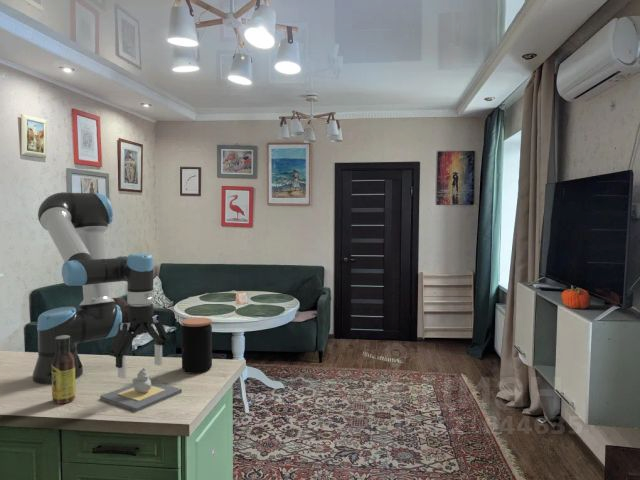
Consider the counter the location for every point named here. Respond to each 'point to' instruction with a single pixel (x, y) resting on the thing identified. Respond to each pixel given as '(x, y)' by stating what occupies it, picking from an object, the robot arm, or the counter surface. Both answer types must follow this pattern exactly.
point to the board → (140, 396)
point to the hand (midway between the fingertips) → (140, 370)
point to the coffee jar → (196, 345)
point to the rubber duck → (142, 382)
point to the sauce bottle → (63, 372)
